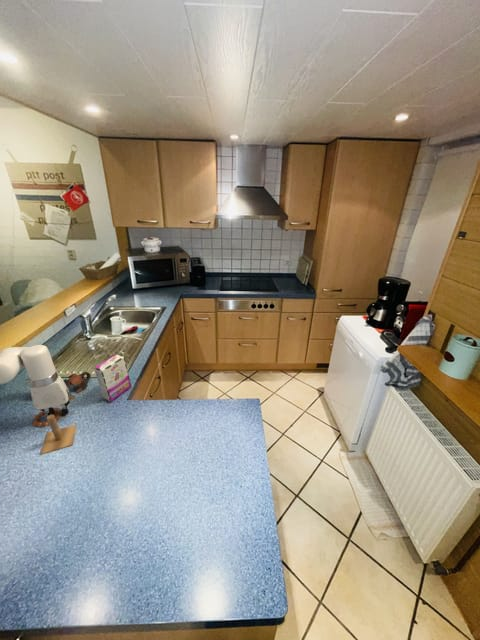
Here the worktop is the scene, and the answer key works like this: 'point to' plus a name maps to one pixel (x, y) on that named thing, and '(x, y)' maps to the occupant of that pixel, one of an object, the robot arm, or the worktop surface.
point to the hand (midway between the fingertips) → (59, 416)
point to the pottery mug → (78, 381)
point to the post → (58, 436)
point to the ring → (44, 424)
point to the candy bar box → (113, 377)
